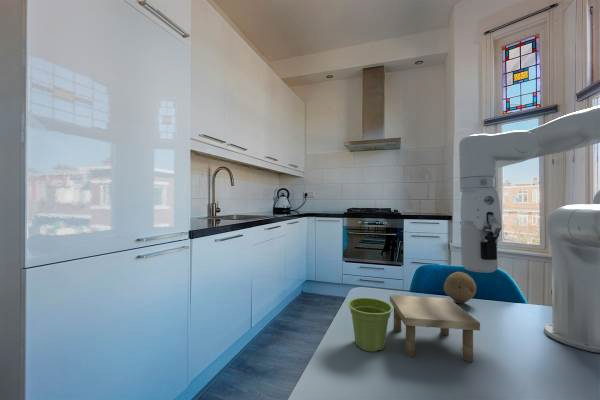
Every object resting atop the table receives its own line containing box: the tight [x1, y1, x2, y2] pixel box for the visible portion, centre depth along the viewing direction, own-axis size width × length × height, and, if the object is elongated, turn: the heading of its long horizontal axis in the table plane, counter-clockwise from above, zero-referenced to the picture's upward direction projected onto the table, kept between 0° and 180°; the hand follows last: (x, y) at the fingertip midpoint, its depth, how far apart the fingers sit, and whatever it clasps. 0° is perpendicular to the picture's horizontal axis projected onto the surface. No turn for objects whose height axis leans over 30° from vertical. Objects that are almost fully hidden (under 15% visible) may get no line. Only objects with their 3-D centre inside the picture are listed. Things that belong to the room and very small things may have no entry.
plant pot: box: [347, 297, 394, 353], centre depth 58 cm, size 9×9×9 cm
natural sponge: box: [443, 271, 477, 304], centre depth 85 cm, size 9×9×10 cm
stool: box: [389, 294, 481, 363], centre depth 59 cm, size 14×14×8 cm
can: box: [460, 222, 499, 274], centre depth 66 cm, size 8×8×12 cm
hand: (479, 255), depth 66 cm, fingers closed on can, 7 cm apart
